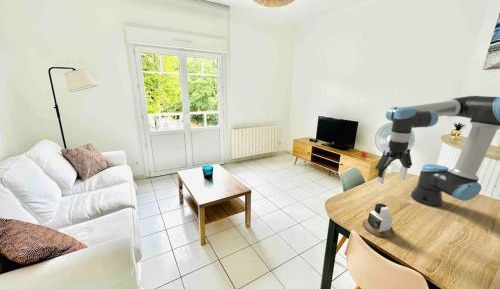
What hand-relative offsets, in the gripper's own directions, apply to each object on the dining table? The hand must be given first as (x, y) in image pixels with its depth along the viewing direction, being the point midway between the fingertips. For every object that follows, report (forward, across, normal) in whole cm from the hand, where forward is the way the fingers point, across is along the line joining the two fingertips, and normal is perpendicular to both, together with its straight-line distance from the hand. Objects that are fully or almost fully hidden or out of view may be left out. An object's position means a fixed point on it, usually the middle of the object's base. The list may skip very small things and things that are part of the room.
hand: (391, 180), depth 104 cm
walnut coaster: (+23, +9, +5) cm, 25 cm away
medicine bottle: (+22, +9, +5) cm, 24 cm away
